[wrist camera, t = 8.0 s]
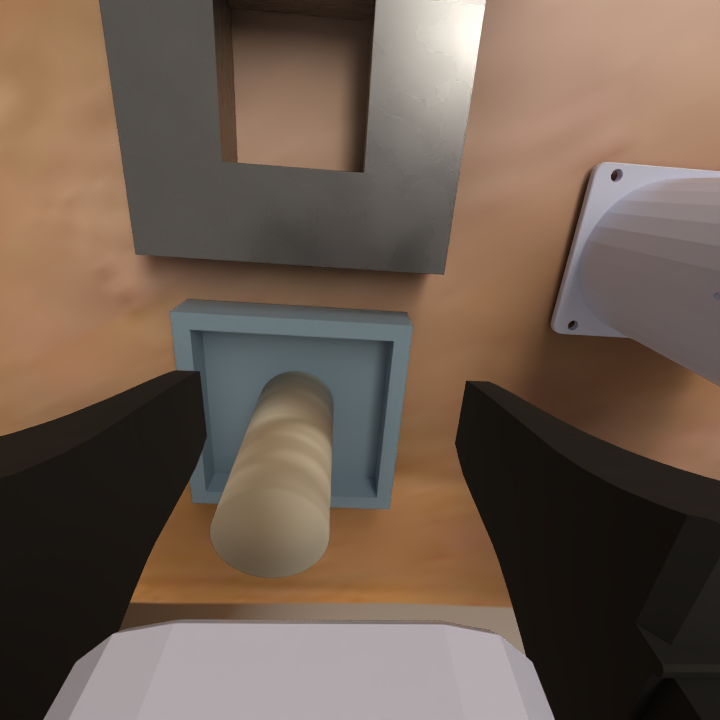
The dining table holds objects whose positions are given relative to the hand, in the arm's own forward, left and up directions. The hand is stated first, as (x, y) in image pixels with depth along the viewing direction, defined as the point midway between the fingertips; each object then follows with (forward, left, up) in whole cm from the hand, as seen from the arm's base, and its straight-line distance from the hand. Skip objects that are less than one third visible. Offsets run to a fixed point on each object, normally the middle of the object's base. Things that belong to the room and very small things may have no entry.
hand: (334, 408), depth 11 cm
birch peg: (+2, +5, -10) cm, 11 cm away
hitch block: (+2, -9, -10) cm, 14 cm away
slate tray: (+2, +6, -10) cm, 12 cm away
